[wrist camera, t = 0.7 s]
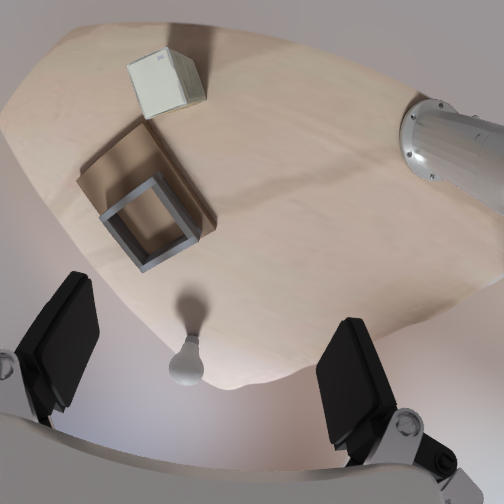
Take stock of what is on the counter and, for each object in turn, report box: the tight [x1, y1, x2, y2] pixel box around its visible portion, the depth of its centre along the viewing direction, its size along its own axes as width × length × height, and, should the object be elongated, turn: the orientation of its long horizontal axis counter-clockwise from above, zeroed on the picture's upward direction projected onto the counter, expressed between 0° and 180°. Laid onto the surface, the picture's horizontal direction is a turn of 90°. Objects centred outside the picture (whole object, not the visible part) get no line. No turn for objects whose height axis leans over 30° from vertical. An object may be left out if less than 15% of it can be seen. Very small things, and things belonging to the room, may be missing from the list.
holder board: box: [76, 122, 217, 273], centre depth 38 cm, size 14×18×4 cm
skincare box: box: [127, 47, 206, 119], centre depth 26 cm, size 6×4×12 cm
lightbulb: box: [169, 335, 204, 386], centre depth 49 cm, size 6×6×11 cm
